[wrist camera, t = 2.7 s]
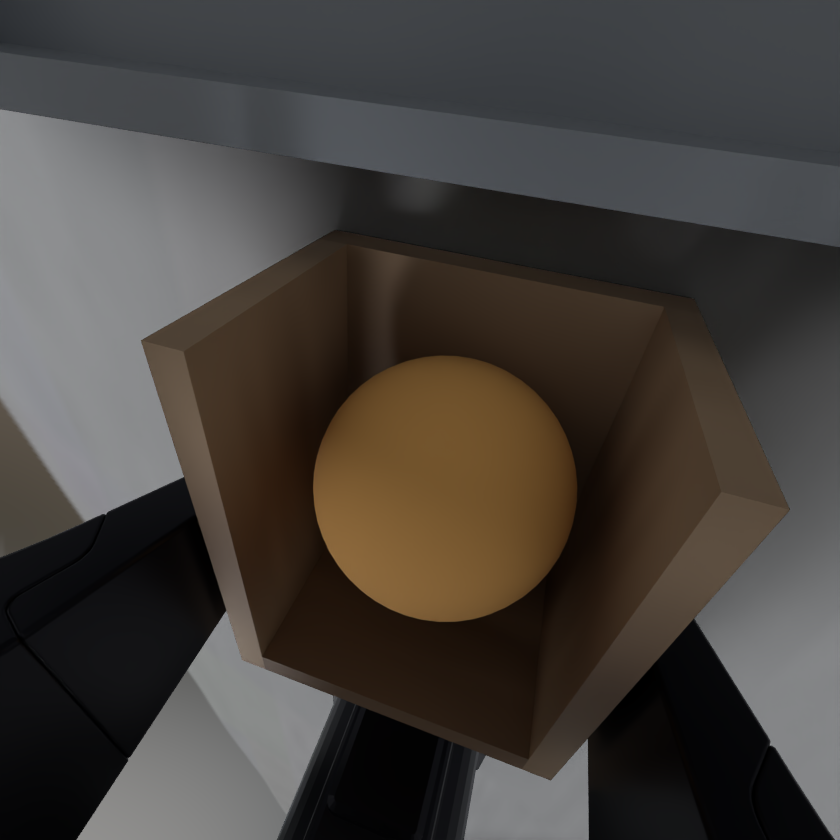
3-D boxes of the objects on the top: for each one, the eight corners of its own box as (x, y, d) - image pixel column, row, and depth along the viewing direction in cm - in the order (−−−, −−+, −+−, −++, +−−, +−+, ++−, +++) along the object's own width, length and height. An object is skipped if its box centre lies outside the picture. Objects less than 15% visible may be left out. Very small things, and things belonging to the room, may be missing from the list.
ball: (528, 597, 9) (553, 732, 5) (338, 538, 10) (227, 616, 6) (581, 398, 9) (649, 375, 5) (385, 352, 9) (305, 298, 6)
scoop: (564, 566, 11) (550, 780, 8) (340, 498, 12) (242, 660, 9) (693, 298, 7) (788, 509, 4) (334, 229, 8) (140, 339, 5)
